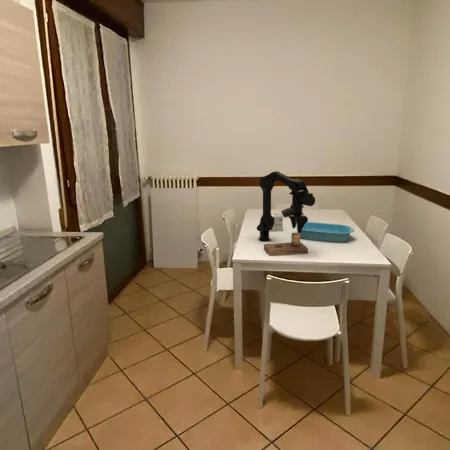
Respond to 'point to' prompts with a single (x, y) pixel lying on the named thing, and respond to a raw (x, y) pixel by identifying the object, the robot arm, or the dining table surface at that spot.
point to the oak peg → (295, 239)
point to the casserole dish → (325, 232)
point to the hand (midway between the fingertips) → (296, 230)
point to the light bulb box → (277, 222)
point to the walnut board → (284, 249)
